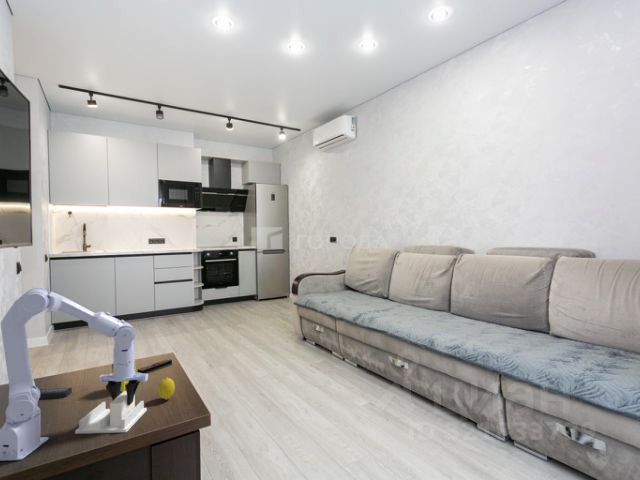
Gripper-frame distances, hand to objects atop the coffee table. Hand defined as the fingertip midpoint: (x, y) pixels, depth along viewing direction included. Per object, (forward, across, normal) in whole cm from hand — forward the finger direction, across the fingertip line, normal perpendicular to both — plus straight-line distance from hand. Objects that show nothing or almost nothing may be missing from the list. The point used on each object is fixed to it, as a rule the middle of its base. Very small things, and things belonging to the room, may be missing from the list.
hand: (123, 403), depth 105 cm
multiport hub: (+6, +36, -19) cm, 41 cm away
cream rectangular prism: (+5, 0, 0) cm, 5 cm away
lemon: (+6, -8, -14) cm, 17 cm away
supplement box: (+6, +12, -23) cm, 27 cm away
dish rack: (+6, +3, 0) cm, 6 cm away
